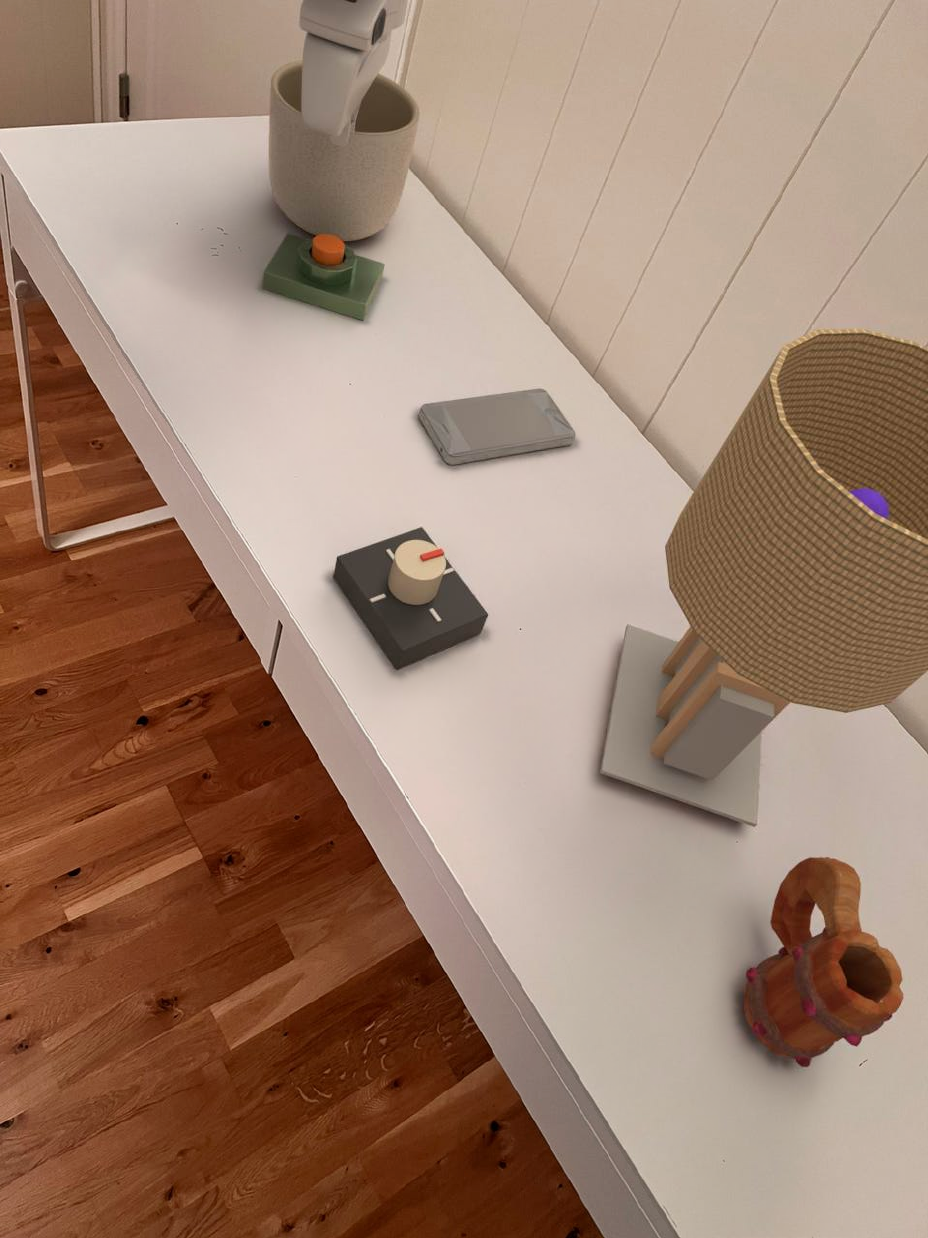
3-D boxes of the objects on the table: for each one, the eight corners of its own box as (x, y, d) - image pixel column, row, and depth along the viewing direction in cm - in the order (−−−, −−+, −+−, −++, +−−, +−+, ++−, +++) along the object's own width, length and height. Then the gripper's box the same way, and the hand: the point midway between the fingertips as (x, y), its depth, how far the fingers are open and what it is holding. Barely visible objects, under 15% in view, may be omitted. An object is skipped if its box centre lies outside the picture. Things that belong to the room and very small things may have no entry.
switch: (307, 259, 102) (309, 245, 101) (316, 244, 104) (318, 230, 103) (338, 269, 102) (340, 255, 101) (346, 253, 105) (348, 240, 103)
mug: (828, 1077, 64) (941, 1037, 55) (741, 1071, 63) (840, 1030, 54) (792, 907, 72) (886, 846, 62) (714, 899, 71) (796, 835, 61)
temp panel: (332, 577, 81) (337, 555, 78) (415, 547, 85) (422, 525, 83) (396, 670, 76) (403, 650, 74) (480, 634, 81) (489, 613, 78)
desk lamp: (590, 613, 85) (774, 290, 58) (783, 681, 86) (1056, 393, 58) (552, 790, 73) (763, 487, 46) (777, 869, 74) (1119, 616, 46)
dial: (403, 611, 77) (411, 583, 74) (379, 573, 78) (386, 545, 75) (446, 596, 79) (456, 569, 76) (422, 559, 80) (430, 531, 77)
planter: (424, 236, 117) (449, 117, 106) (327, 273, 108) (343, 147, 96) (334, 170, 122) (349, 49, 110) (234, 200, 112) (239, 71, 100)
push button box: (262, 288, 103) (264, 257, 100) (286, 249, 109) (288, 218, 106) (363, 320, 104) (368, 290, 101) (381, 279, 110) (387, 250, 106)
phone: (575, 445, 99) (578, 436, 98) (446, 467, 93) (449, 458, 92) (541, 395, 103) (544, 387, 102) (415, 413, 96) (417, 404, 95)
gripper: (355, -58, 88) (338, 89, 99) (293, 14, 76) (282, 173, 87) (417, -36, 89) (393, 107, 100) (366, 38, 76) (345, 194, 87)
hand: (341, 139), depth 93 cm, fingers closed
